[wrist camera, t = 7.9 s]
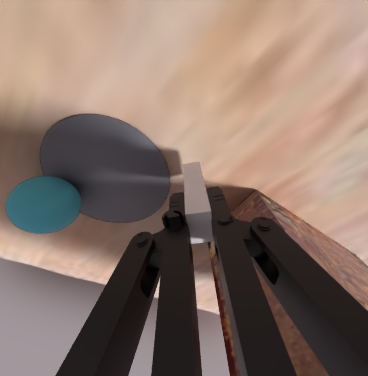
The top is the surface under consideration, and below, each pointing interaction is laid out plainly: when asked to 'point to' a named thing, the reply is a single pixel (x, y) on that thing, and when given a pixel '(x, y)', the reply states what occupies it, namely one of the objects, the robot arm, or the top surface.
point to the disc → (107, 167)
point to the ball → (43, 204)
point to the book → (295, 343)
